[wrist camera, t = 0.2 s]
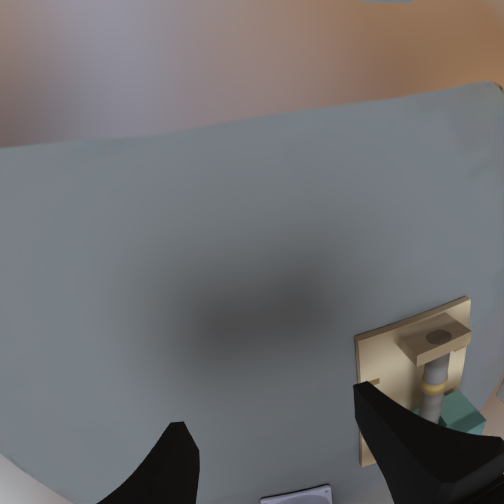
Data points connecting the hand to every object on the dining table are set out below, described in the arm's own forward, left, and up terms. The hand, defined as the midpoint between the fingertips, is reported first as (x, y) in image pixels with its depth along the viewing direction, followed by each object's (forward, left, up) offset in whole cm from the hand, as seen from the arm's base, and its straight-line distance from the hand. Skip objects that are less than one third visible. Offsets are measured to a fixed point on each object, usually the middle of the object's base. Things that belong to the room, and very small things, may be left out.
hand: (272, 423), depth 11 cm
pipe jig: (-12, -12, -10) cm, 20 cm away
